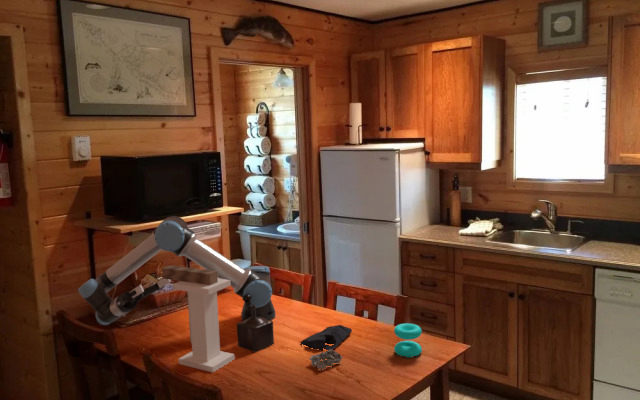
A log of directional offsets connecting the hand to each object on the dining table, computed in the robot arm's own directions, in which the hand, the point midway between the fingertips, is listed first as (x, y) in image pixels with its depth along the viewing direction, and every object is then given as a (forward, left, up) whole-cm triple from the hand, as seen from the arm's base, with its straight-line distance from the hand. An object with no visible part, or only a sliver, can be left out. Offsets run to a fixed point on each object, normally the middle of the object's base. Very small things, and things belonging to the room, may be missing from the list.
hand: (155, 283), depth 207 cm
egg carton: (-59, +28, -27) cm, 71 cm away
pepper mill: (-35, +2, -27) cm, 44 cm away
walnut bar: (-13, +12, +3) cm, 18 cm away
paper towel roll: (-16, -5, -27) cm, 32 cm away
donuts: (-91, +26, -27) cm, 98 cm away
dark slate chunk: (-65, +6, -27) cm, 70 cm away
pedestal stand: (-18, +15, -27) cm, 35 cm away
